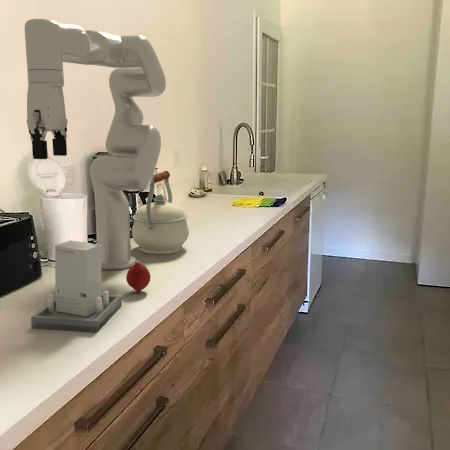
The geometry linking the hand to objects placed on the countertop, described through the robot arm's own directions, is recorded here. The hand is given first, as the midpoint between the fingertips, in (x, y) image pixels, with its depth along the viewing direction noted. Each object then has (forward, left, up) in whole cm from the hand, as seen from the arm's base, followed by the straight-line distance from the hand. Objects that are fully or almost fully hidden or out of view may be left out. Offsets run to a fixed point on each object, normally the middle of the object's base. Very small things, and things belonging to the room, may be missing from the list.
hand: (50, 157), depth 118 cm
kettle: (-49, +13, -34) cm, 61 cm away
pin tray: (+12, +10, -33) cm, 37 cm away
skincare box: (+11, +10, -32) cm, 36 cm away
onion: (-6, +18, -34) cm, 38 cm away
